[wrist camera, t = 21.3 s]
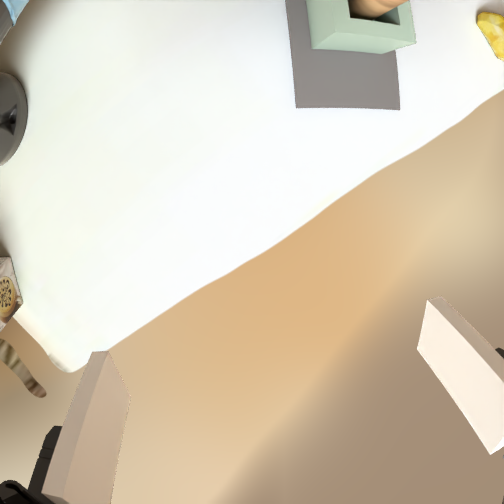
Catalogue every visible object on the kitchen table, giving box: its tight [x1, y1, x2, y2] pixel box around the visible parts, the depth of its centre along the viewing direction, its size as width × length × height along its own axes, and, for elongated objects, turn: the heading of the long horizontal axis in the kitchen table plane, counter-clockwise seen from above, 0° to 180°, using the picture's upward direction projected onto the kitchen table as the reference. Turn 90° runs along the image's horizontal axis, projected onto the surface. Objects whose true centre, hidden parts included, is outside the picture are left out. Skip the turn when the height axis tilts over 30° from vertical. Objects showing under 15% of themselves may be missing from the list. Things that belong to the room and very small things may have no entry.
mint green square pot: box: [306, 0, 416, 54], centre depth 29 cm, size 10×10×9 cm
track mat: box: [285, 0, 400, 110], centre depth 35 cm, size 18×15×1 cm
